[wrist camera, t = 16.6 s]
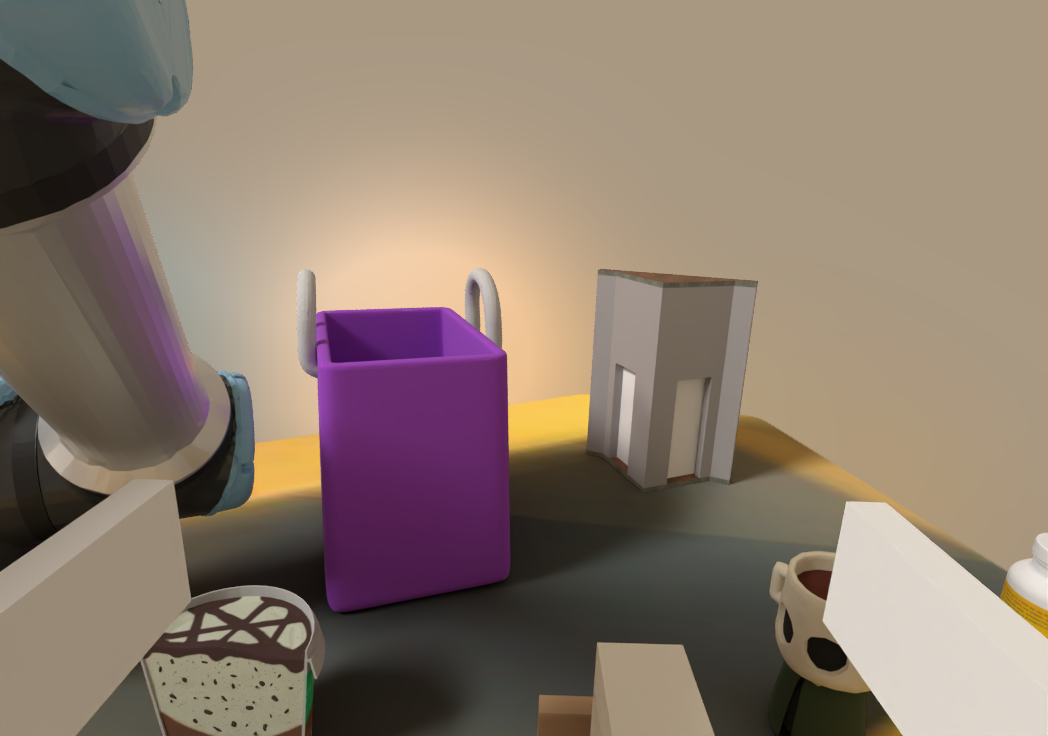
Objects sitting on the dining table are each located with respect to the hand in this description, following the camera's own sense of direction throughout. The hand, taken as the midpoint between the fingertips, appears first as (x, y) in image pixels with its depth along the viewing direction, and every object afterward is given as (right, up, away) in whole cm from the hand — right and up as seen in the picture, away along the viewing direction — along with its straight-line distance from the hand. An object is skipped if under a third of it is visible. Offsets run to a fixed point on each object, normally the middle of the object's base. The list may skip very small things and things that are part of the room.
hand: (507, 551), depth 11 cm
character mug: (+21, -23, +31) cm, 44 cm away
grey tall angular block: (+18, -12, +70) cm, 74 cm away
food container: (-19, -22, +30) cm, 42 cm away
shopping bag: (-13, -15, +55) cm, 59 cm away
